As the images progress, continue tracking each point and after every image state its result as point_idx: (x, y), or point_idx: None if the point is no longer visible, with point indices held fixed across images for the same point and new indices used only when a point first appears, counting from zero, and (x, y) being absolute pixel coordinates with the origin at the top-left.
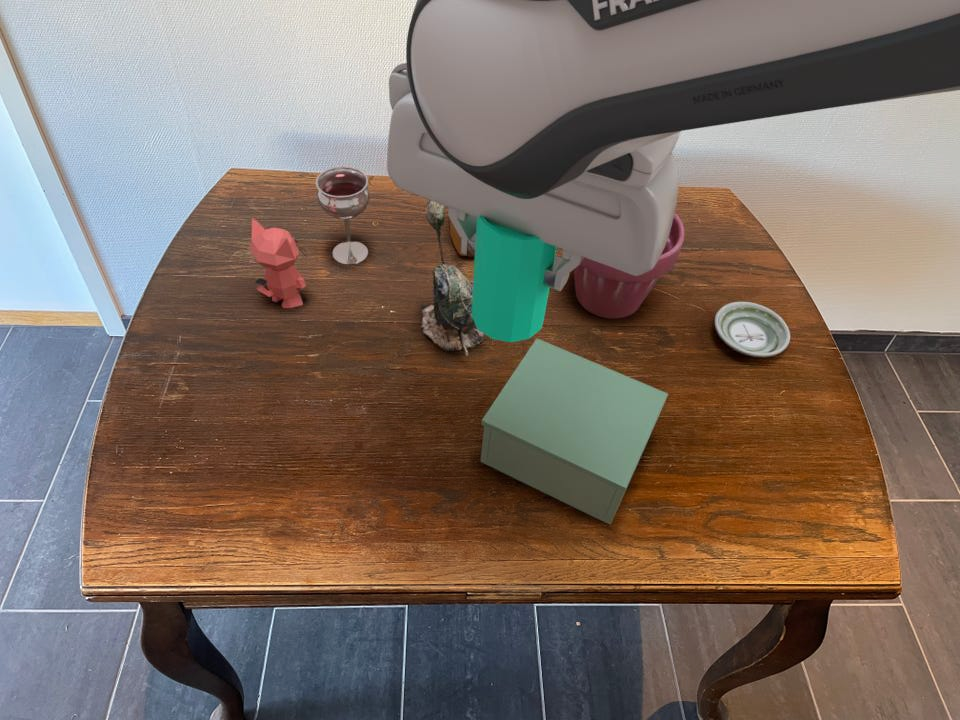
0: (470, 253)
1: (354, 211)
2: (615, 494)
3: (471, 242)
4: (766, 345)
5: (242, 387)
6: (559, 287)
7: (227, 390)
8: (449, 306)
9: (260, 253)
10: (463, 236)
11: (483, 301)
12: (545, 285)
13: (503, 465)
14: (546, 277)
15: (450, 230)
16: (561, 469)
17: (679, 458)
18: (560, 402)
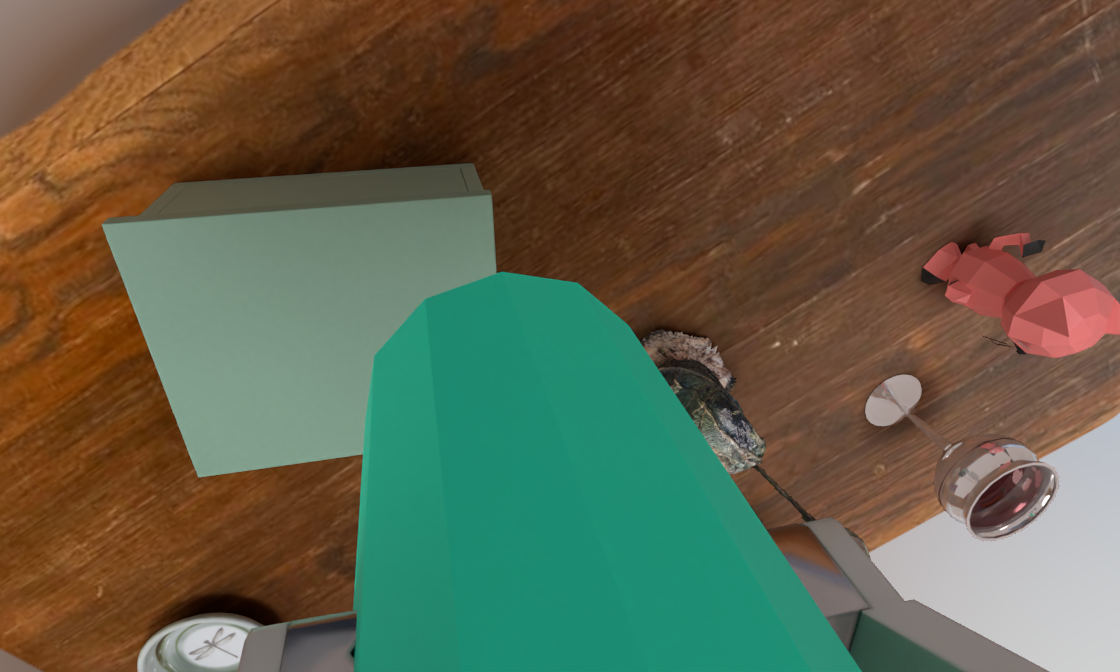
0: (796, 542)
1: (954, 464)
2: None
3: (840, 606)
4: (177, 648)
5: (950, 47)
6: (245, 654)
7: (973, 24)
8: (696, 394)
9: (1086, 284)
10: (902, 613)
11: (601, 365)
12: (344, 612)
13: (423, 172)
14: (339, 668)
15: (765, 528)
16: None
17: (160, 382)
18: (372, 333)
